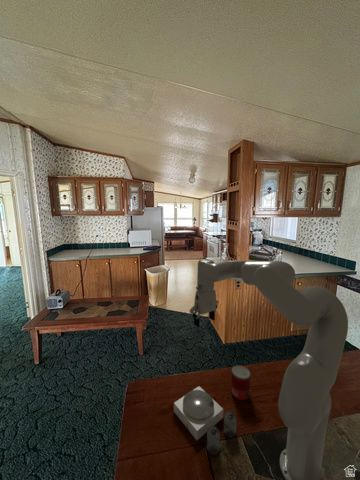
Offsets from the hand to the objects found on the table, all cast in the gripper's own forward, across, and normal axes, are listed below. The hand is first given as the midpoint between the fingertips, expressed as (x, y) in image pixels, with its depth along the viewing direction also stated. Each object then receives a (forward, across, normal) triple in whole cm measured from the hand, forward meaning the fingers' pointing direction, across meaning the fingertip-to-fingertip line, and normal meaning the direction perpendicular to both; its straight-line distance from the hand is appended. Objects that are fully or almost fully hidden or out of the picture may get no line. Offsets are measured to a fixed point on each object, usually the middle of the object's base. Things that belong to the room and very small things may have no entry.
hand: (204, 322), depth 97 cm
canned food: (+31, +9, -15) cm, 36 cm away
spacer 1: (+31, -16, -23) cm, 42 cm away
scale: (+31, -13, -11) cm, 35 cm away
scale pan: (+26, -13, -11) cm, 31 cm away
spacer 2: (+31, -8, -23) cm, 39 cm away
